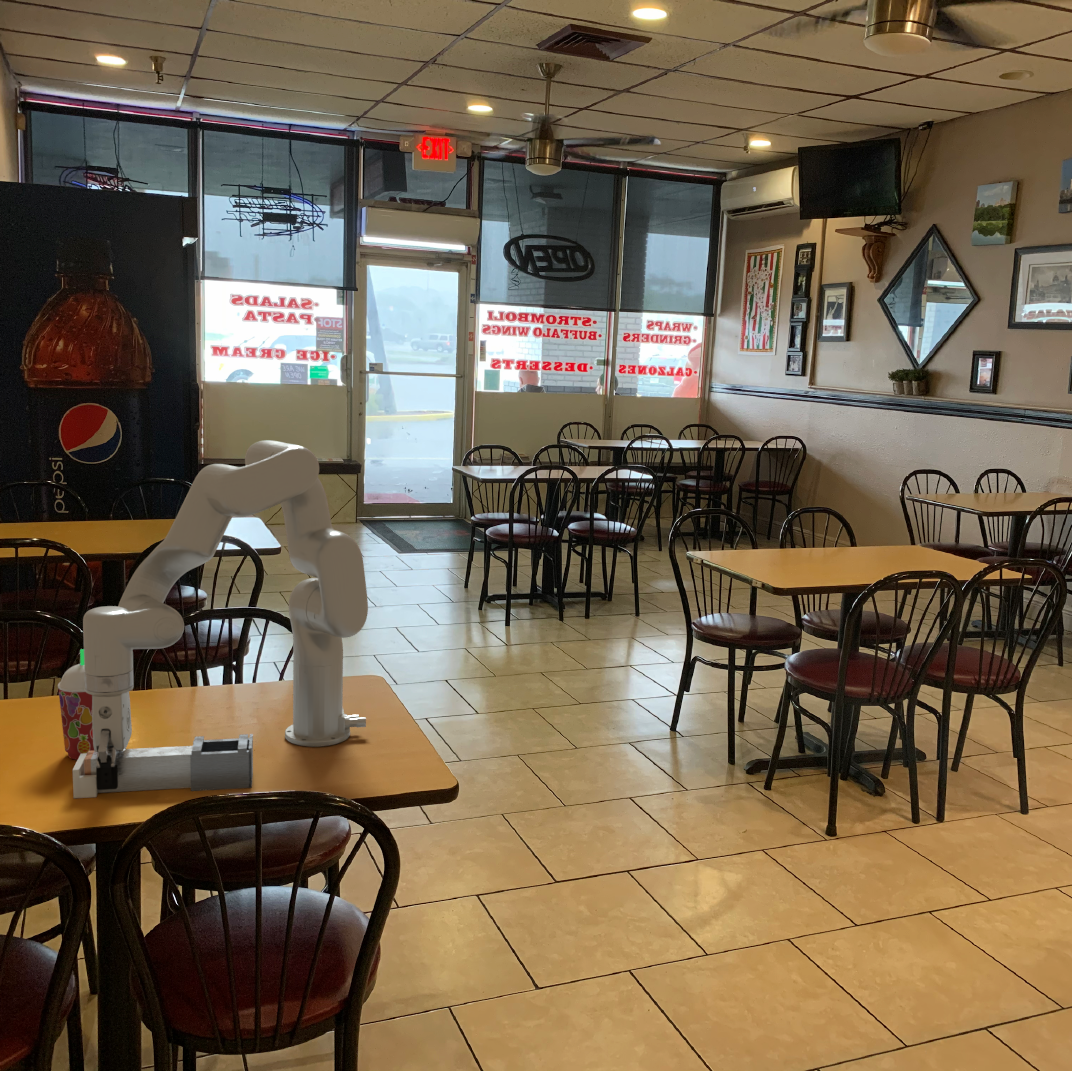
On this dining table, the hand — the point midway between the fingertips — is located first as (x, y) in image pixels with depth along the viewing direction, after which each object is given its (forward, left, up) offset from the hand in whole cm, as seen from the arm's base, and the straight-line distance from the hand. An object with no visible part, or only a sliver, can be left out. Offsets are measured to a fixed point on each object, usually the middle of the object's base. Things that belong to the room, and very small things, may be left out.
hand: (112, 776), depth 174 cm
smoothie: (+7, -16, -2) cm, 18 cm away
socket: (+3, 0, -2) cm, 4 cm away
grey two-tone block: (-5, 0, -2) cm, 5 cm away
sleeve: (-18, 0, -2) cm, 18 cm away
